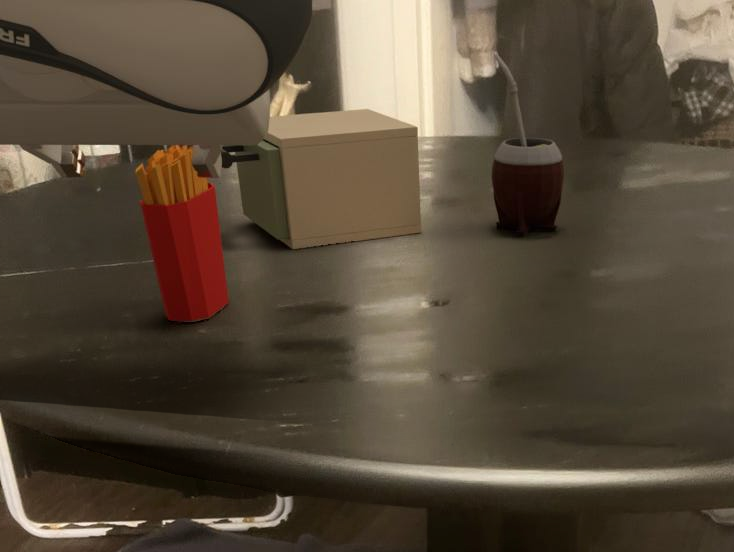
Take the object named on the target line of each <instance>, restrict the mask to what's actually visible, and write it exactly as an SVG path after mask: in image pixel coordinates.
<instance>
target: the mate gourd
mask: <svg viewBox="0 0 734 552" xmlns="http://www.w3.org/2000/svg"><path fill="white" fill-rule="evenodd" d="M493 57H494V59H495V60H496V62H497V64H498V65H499V67H500V69H501V70H502V71H503V73H504V75H505V78H506V79H507V82H508V83H507V87H508V90H509V91H508V92H509V94H510V96H511V99H512V100H511V101H512V106H513V111H514V116H515V117H514V118H515V121H516V122H515V123H516V127H517V133H518V137H517V138H510V139H506V140H503V142H501V144H500V145H499V146H498V148H497V150H496V152H495V154H494V156H493V164H492V168H491V184H492V191H493V200H494V207H495V210H496V213H497V218H498V221H496V222H495V227H496V229H504V230H516V232H515V233H516V237H519V238H521V237H522V238H524V237H526V235H527V234H528V233H529V232H530V231H532V232H534V231H536V232H550V233H552V232H553V233H556V232H557V229H558V225H556V224H555V223H556V220H557V216H558V213H559V210H560V207H561V201H562V196H563V195H562V194H563V185H564V178H565V172H564V171H565V170H564V167H565V166H564V163H563V162H564V161H563V156H562V155H563V154H562V153H561V150H560V149H559V147H558V145H557V143H555V142H554V141H553V140H551V139H546V138H539V137H526V135H525V129H524V123H523V119H522V113H521V108H520V101H519V97H518V96H519V95H518V92H519V90H518V86H517V85H518V84H517V81H516V80H515V79H514V76H513V75H512V72H511V71H510V69H509V67H508V65H507V64H506V63H505V62H504V60H503V59H502V58H501V56H500V55H499V54H498V53H494V54H493Z"/></svg>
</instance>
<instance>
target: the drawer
mask: <svg viewBox="0 0 734 552" xmlns="http://www.w3.org/2000/svg"><path fill="white" fill-rule="evenodd" d="M232 153H233V154H232ZM221 158H222V169H230V168H231V167H232V165H233V164H234V163H236V168H237V169H236V170H237V176H238V184H239V191H240V199H241V206H242V213H243V215H244V216H245V217H246V218H248V219H249V220H251V222H253V223H254V224H255V225H257V226H259V227H260V228H261V229H263V230H264V231H265V232H267V233H268V234H269V235H271V236H272V237H273V238H275V239H276V240H278V241H280V240H279V239H287V238H289V231H288V222H287V213H286V204H285V196H284V187H283V178H282V169H281V160H280V151H279V147H278V146H276V145H274V144H272V143H270V142H269V141H267V140H265V139H263V140H262V141H261V142H260V143H259V144H258V145H252V146H247V145H222V151H221Z"/></svg>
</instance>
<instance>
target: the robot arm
mask: <svg viewBox="0 0 734 552" xmlns="http://www.w3.org/2000/svg"><path fill="white" fill-rule="evenodd" d="M312 14H313V0H0V146H3V145H4V146H5V145H6V146H15V145H16V146H19V147H20V149H22V150H23V151H25V152H27V153H28V154H30V155H32V156H34V157H36V158H38V159H40V160H41V161H44V162H45V163H47V164H49V165H51V166H52V167H53V168H54V169H55V171H56V172H57V174H58V175H59V177H60V178H62V179H63V178H84V177H85V172H86V171H85V170H84V167H85V166H86V156H85V153H84V151H83V150H82V149H80V146H172V145H179V146H185V145H187V146H193V151H194V154H193V155H192V166H193V168H194V170H195V171H197V176H198V177H199V178H207V179H220V178H221V177H222V169H223V168H222V158H221V151H222V145H247V146H252V145H258V144H259V143H260V142H261V141H262V140H263V139H264V138H265V136H266V135H267V133H268V129H269V120H270V117H271V91H270V89H271V88H273V86H274V85H275V84H276V83H277V82H278V81H279V80H280V79H281V78H282V77H283V76H284V74H285V73H286V71H287V70H288V69H289V68H290V67H291V65H292V64H293V62H294V60H295V59H296V57H297V55H298V54H299V52H300V50H301V48H302V46H303V44H304V42H305V39H306V38H307V36H308V32H309V29H310V26H311V21H312Z"/></svg>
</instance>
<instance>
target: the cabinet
mask: <svg viewBox="0 0 734 552" xmlns="http://www.w3.org/2000/svg"><path fill="white" fill-rule="evenodd" d="M264 139H265V140H267V141H269V142H270V143H272V144H274V145H276V146H278V147H279V151H280V160H281V169H282V178H283V187H284V196H285V204H286V213H287V222H288V231H289V238H287V239H279V240H278V241H281V242H282V243H283V244H285V245H286V246H287V247H289V248H290V249H291V250H300V248H301V249H308V248H315V247H314V246H316V247H322V246H321V245H323V246H329V245H328V244H331V245H337V244H336V243H339V244H345V242H346V243H352V242H351V241H354V242H360V241H361V242H362V241H367V240H375V239H376V240H377V239H383V238H390V237H398V236H405V235H406V236H407V235H413V234H420V233H422V216H421V215H422V214H421V211H422V210H421V189H420V187H421V186H420V160H419V130H418V126H417V125H414V124H411V123H408V122H405V121H402V120H400V119H397V118H394V117H391V116H389V115H387V114H383V113H380V112H377V111H375V110H371V109H369V108H363V109H350V110H349V109H348V110H338V111H336V110H335V111H326V112H312V113H299V114H286V115H275V116H270V120H269V129H268V133H267V135H266V136H265V138H264ZM307 247H308V248H307Z"/></svg>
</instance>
